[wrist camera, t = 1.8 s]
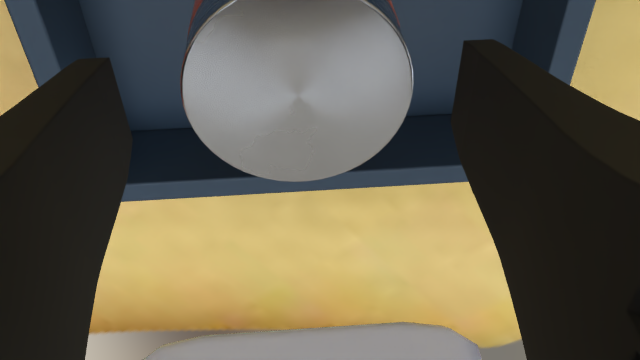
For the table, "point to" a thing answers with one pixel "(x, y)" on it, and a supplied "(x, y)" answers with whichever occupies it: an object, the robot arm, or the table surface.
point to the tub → (223, 179)
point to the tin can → (295, 83)
